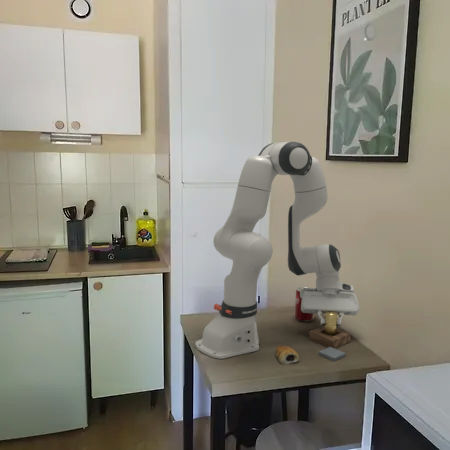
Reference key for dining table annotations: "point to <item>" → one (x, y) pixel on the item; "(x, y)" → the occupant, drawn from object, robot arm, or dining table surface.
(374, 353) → the dining table surface
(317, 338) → the wooden square frame
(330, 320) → the peg
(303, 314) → the soda can
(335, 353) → the mat
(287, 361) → the pastry
